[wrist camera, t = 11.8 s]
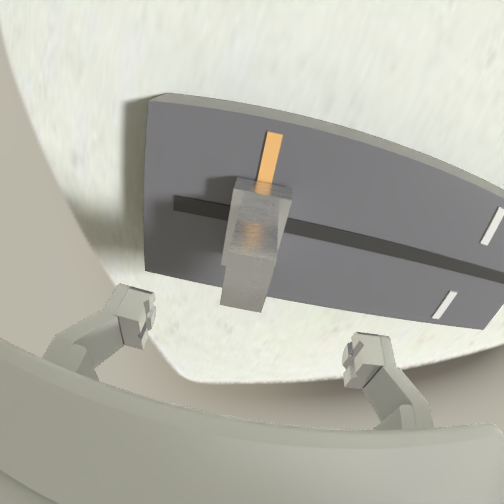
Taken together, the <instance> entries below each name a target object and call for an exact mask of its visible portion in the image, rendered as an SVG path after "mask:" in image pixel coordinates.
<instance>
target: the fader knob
mask: <svg viewBox="0 0 504 504" xmlns="http://www.w3.org/2000/svg"><path fill="white" fill-rule="evenodd" d="M291 203H292V188H288V187H283V186H279V185H274V184H269V183H265V182H260V181H255V180H250V179H245V178H240V177H237V180H236V183H235V186H234V189H233V195H232V201H231V207H230V212H229V218H228V224H227V230H226V237H225V243H224V249H223V255H222V261H221V265H224V266H226V271H225V276H224V282H223V288H222V294H221V300H220V305H224V306H229V307H234V308H239V309H244V310H250V311H255V312H260V313H261V311H262V308H263V305H264V302H265V298H266V295H267V292H268V288H269V285H270V282H271V278H272V275H273V272H274V268H275V265H276V261H277V253H278V249H279V246H280V242H281V239H282V235H283V232H284V228H285V225H286V221H287V218H288V214H289V210H290V207H291Z"/></svg>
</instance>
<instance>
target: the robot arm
mask: <svg viewBox="0 0 504 504" xmlns="http://www.w3.org/2000/svg"><path fill="white" fill-rule="evenodd" d="M154 301H155V293H153V292H150V291H146V290H142V289H139V288H135V287H132V286H128V285H124V284H119V285H117V286H116V288H115V290H114V292H113V293H112V295H111V297H110V298H109V300H108V302H107V304H106V305H105V307H104V309H103V311H98V312H96V313H94V314H92V315H90V316H89V317H87V318H85V319H83V320H81V321H79V322H78V323H76V324H74V325H72V326H70V327H69V328H67V329H65V330H63V331H62V332H60V333H58V334H56V335H55V336H54V338H53V340H52V341H51V343H50V345H49V346H48V348H47V350H46V352H45V353H44V355H43V357H42V358H40V357H38V356H36V355H34V354H32V353H29V352H27V351H25V350H23V349H21V348H19V347H17V346H15V345H13V344H11V343H9V342H7V341H5V340H3V339H1V338H0V504H504V434H503V433H502V432H501V430H500V429H499V428H498V427H497V426H496V425H495V424H494V423H491V422H485V423H477V424H471V425H462V426H452V427H441V428H434V426H433V420H432V415H431V410H430V405H429V403H428V402H427V401H426V399H425V398H424V397H423V396H422V394H421V393H420V392H419V391H418V390H417V388H416V387H415V386H414V385H413V384H412V383H411V381H410V380H409V379H408V378H407V376H406V375H405V374H404V373H403V372H402V370H401V369H400V368H397V367H396V363H395V358H394V354H393V349H392V345H391V340H390V338H389V336H383V335H377V334H369V333H361V332H356V333H354V334H353V336H352V342H350V343H348V344H347V345H346V347H345V349H344V352H343V358H342V362H343V366H344V367H345V369H346V371H345V372H344V374H343V375H344V386H345V387H348V388H357V389H362V391H363V392H364V394H365V395H366V397H367V399H368V401H369V402H370V404H371V405H372V407H373V409H374V411H375V412H376V414H377V416H378V417H379V419H380V421H381V423H380V424H379V425H377V426H376V427H375V428H374V429H373V430H350V429H330V428H316V427H305V426H294V425H285V424H277V423H270V422H262V421H256V420H250V419H243V418H238V417H232V416H227V415H221V414H216V413H211V412H207V411H202V410H197V409H193V408H189V407H185V406H180V405H176V404H172V403H169V402H164V401H161V400H157V399H154V398H150V397H147V396H143V395H140V394H136V393H133V392H130V391H127V390H124V389H120V388H117V387H115V386H111V385H109V384H105V383H103V382H100V381H99V379H98V377H97V374H96V372H95V370H94V368H96V367H97V366H98V365H100V364H101V363H102V362H103V361H104V360H106V359H107V358H109V357H110V356H111V355H112V354H114V353H115V352H116V351H118V350H119V349H120V348H122V347H123V346H124V345H127V346H131V347H134V348H139V349H142V350H143V348H144V346H145V344H146V341H147V339H148V331H149V330H150V329H152V326H153V324H154V320H155V316H156V307H155V305H154V304H153V303H154Z"/></svg>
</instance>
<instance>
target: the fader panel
mask: <svg viewBox="0 0 504 504" xmlns="http://www.w3.org/2000/svg"><path fill="white" fill-rule="evenodd" d="M237 177H240V178H245V179H250V180H255V181H260V182H265V183H269V184H274V185H279V186H283V187H288V188H292V203H291V207H290V210H289V214H288V218H287V221H286V225H285V228H284V232H283V235H282V239H281V242H280V246H279V249H278V253H277V261H276V265H275V268H274V272H273V275H272V278H271V282H270V285H269V288H268V292H267V295H266V296H267V297H273V298H278V299H283V300H289V301H294V302H300V303H305V304H311V305H317V306H322V307H328V308H334V309H340V310H346V311H352V312H358V313H365V314H371V315H377V316H384V317H391V318H397V319H404V320H411V321H418V322H425V323H433V324H440V325H448V326H456V327H464V328H472V329H481V330H483V329H484V328H485V327H486V325H487V324H488V323H489V322H490V321H491V319H492V318H493V317H494V315H495V314H496V313H497V312H498V310H499V309H500V308H501V306H502V305H503V304H504V190H503V189H501V188H499V187H497V186H495V185H493V184H491V183H489V182H487V181H485V180H483V179H481V178H479V177H477V176H475V175H473V174H470V173H468V172H466V171H464V170H462V169H459V168H457V167H455V166H453V165H450V164H448V163H446V162H443V161H441V160H438V159H436V158H433V157H431V156H429V155H426V154H423V153H421V152H418V151H416V150H413V149H410V148H408V147H405V146H402V145H399V144H397V143H394V142H391V141H388V140H385V139H382V138H379V137H376V136H373V135H370V134H367V133H364V132H360V131H357V130H354V129H350V128H347V127H344V126H340V125H337V124H333V123H329V122H326V121H322V120H318V119H314V118H310V117H306V116H302V115H298V114H294V113H289V112H285V111H280V110H276V109H271V108H266V107H261V106H256V105H250V104H245V103H239V102H233V101H227V100H221V99H214V98H207V97H200V96H192V95H183V94H174V93H165V94H163V95H160V96H158V97H156V98H154V99H151V100H149V101H148V112H147V125H146V141H145V163H144V258H145V271H148V272H152V273H157V274H161V275H166V276H170V277H175V278H179V279H184V280H189V281H193V282H198V283H203V284H207V285H212V286H217V287H222V288H223V282H224V276H225V271H226V266H224V265H221V261H222V255H223V249H224V243H225V237H226V230H227V224H228V218H229V212H230V207H231V201H232V195H233V189H234V186H235V183H236V180H237Z"/></svg>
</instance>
